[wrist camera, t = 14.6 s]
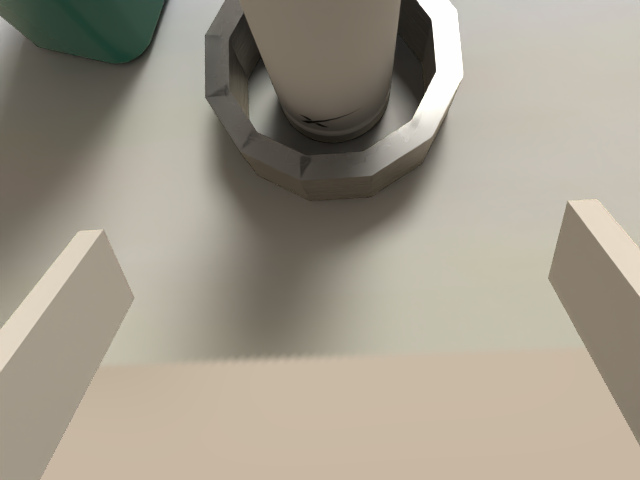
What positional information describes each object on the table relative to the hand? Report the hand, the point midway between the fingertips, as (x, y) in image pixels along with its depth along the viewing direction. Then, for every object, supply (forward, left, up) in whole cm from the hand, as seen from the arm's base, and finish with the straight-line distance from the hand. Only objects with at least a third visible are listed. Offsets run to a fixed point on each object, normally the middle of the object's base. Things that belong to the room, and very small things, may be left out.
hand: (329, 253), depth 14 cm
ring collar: (+5, -9, -11) cm, 16 cm away
